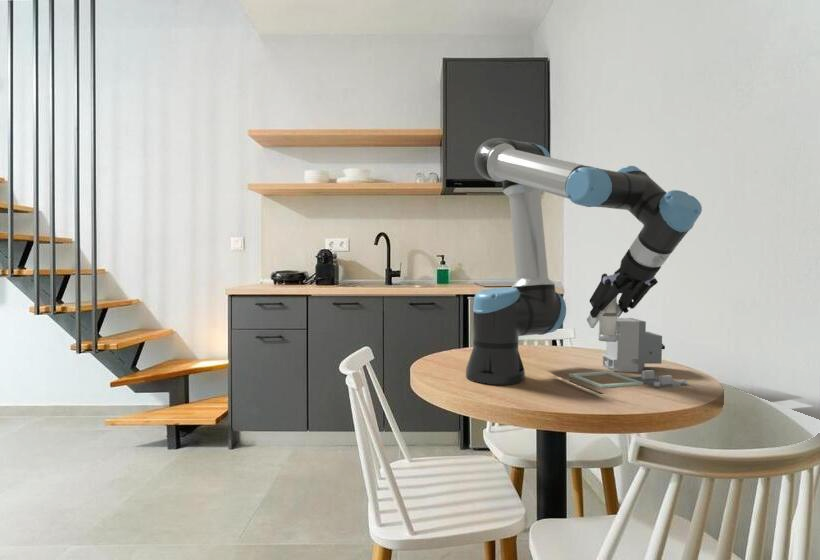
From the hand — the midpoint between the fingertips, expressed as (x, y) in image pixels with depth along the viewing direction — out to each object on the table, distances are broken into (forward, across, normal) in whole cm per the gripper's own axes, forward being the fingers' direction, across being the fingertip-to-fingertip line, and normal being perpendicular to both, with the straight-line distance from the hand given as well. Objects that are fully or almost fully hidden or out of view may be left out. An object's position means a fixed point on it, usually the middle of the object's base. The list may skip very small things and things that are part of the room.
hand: (598, 323), depth 118 cm
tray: (+8, 0, -13) cm, 15 cm away
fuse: (0, 0, -5) cm, 5 cm away
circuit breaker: (+15, +16, -6) cm, 23 cm away
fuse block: (+6, +12, -16) cm, 20 cm away
